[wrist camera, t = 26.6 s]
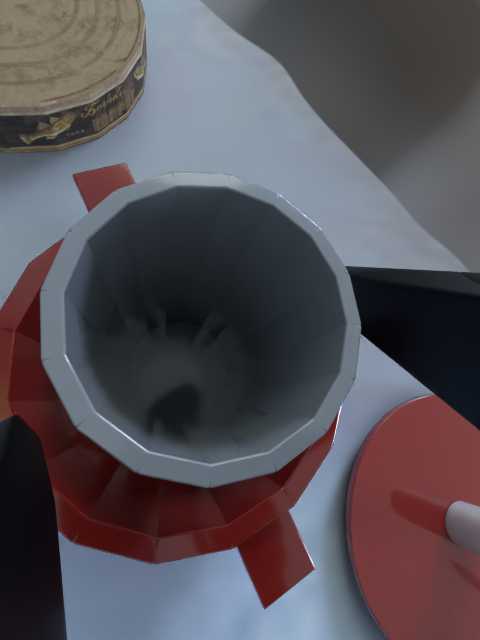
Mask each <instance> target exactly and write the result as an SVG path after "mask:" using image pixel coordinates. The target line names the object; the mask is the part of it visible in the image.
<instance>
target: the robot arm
mask: <svg viewBox="0 0 480 640" xmlns="http://www.w3.org/2000/svg"><path fill="white" fill-rule="evenodd" d="M345 267H346V269H347V270H348V274H349V275H350V279H351V283H352V288H353V292H354V296H355V300H356V304H357V308H358V313H359V317H360V321H361V325H360V326H361V334H362V335H363V336H364V337H365V338H367V339H368V340H369V341H370V342H372V343H373V344H374V345H375V346H376V347H378V348H379V349H380V350H381V351H383V352H384V353H385V354H386V355H388V356H389V357H390V358H391V359H392V360H394V361H395V362H396V363H397V364H399V365H400V366H401V367H402V368H403V369H405V370H406V371H407V372H408V373H410V374H411V375H412V376H413V377H414V378H416V379H417V380H418V381H419V382H421V383H422V384H423V385H424V386H425V387H427V388H428V389H429V390H430V391H432V392H433V393H434V394H435V395H437V396H438V397H439V398H440V399H441V400H443V401H444V402H445V403H446V404H448V405H449V406H450V407H451V408H452V409H454V410H455V411H456V412H457V413H459V414H460V415H461V416H462V417H463V418H465V419H466V420H467V421H468V422H470V423H471V424H472V425H473V426H475V427H476V428H477V429H478V430H479V431H480V273H471V272H460V273H459V272H450V271H431V270H411V269H391V268H372V267H352V266H345ZM0 640H67V633H66V622H65V610H64V598H63V587H62V575H61V563H60V551H59V540H58V528H57V516H56V507H55V499H54V494H53V490H52V485H51V481H50V476H49V472H48V468H47V463H46V459H45V454H44V450H43V446H42V442H41V440H40V438H39V436H38V435H37V433H36V432H35V431H34V430H33V429H32V428H31V427H30V426H29V425H28V424H27V423H26V422H25V421H24V419H23V418H22V417H20V416H18V415H13V416H11V417H9V418H7V419H5V420H2V421H0Z"/></svg>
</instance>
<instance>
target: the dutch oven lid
mask: <svg viewBox="0 0 480 640" xmlns="http://www.w3.org/2000/svg"><path fill="white" fill-rule="evenodd" d="M345 524H346V537H347V546H348V552H349V557H350V563H351V566H352V570H353V573H354V577H355V580H356V584H357V586H358V588H359V591H360V593H361V596H362V598H363V601H364V603H365V605H366V607H367V608H368V610H369V612H370V614H371V616H372V618H373V619H374V621H375V622H376V624H377V625H378V627H379V628H380V629H381V631H382V632H383V633H384V635H385V636H386V637H387V638H388V639H389V640H480V431H479V430H478V429H477V428H476V427H475V426H473V425H472V424H471V423H470V422H468V421H467V420H466V419H465V418H463V417H462V416H461V415H460V414H459V413H457V412H456V411H455V410H454V409H452V408H451V407H450V406H449V405H448V404H446V403H445V402H444V401H443V400H441V399H440V398H439V397H438V396H437V395H426V396H420V397H416V398H413V399H410V400H407V401H405V402H403V403H401V404H400V405H398V406H396V407H394V408H393V409H392V410H391V411H389V412H388V413H387V414H385V415H384V416H383V417H382V418H381V419H380V420H379V421H378V423H377V424H376V425H375V426H374V427H373V429H372V430H371V431H370V433H369V434H368V436H367V437H366V439H365V441H364V443H363V445H362V446H361V448H360V450H359V452H358V455H357V458H356V460H355V463H354V466H353V469H352V473H351V477H350V481H349V485H348V492H347V500H346V522H345Z"/></svg>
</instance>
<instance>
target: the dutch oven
mask: <svg viewBox="0 0 480 640" xmlns="http://www.w3.org/2000/svg"><path fill="white" fill-rule="evenodd" d="M73 178H74V181H75V184H76V186H77V189H78V191H79V193H80V196H81V198H82V200H83V202H84V205H85V207H86V209H87V211H88V213H89V212H90V211H91V210H92V209H94V208H95V207H96V206H97V205H98V204H99V203H101V202H102V201H103V200H104V199H105V198H107V197H108V196H109V195H110V194H111V193H112V192H114V191H116V190H117V189H120V188H123V187H126V186H129V185H132V184H135V181H134V179H133V177H132V175H131V173H130V170H129V168H128V166H127V164H126V163H122V164H118V165H113V166H108V167H104V168H99V169H95V170H90V171H86V172H81V173H76V174H73ZM64 238H65V237H64ZM64 238H63V239H61V240H60V241H59V242H57V243H56V244H54V245H53V246H52V247H50V248H49V249H47V250H46V251H45V252H43V253H42V254H41V255H39V256H38V257H36V258H35V259H34V260H32V262H30V263H29V264H28V266H27V268H26V269H25V271H24V273H23V274H22V276H21V277H20V279H19V281H18V282H17V284H16V286H15V287H14V289H13V290H12V292H11V294H10V295H9V297H8V299H7V300H6V302H5V303H4V305H3V307H2V308H1V310H0V421H2V420H5V419H7V418H9V417H11V416H13V415H18V416H20V417H22V418H23V419H24V421H25V422H26V423H27V424H28V425H29V426H30V427H31V428H32V429H33V430H34V431H35V432H36V433H37V435H38V436H39V438H40V440H41V442H42V446H43V450H44V454H45V459H46V463H47V468H48V472H49V476H50V481H51V485H52V490H53V494H54V499H55V507H56V516H57V528H58V531H59V532H60V533H61V534H62V535H63V536H65V537H66V538H67V539H68V540H69V541H70V542H73V543H74V544H76V545H80V546H84V547H88V548H92V549H96V550H100V551H103V552H107V553H111V554H115V555H119V556H123V557H126V558H130V559H134V560H138V561H142V562H146V563H150V564H153V563H154V564H160V563H165V562H170V561H175V560H180V559H185V558H190V557H195V556H200V555H205V554H210V553H215V552H220V551H225V550H230V549H232V548H235V547H236V549H237V552H238V554H239V556H240V558H241V561H242V563H243V565H244V567H245V570H246V572H247V574H248V576H249V579H250V581H251V583H252V586H253V588H254V590H255V592H256V595H257V597H258V599H259V601H260V603H261V605H262V607H263V608H264V609H266V608H267V607H268V606H270V605H271V604H272V603H273V602H275V601H276V600H277V599H278V598H280V597H281V596H282V595H283V594H285V593H286V592H287V591H288V590H290V589H291V588H292V587H293V586H294V585H296V584H297V583H298V582H299V581H301V580H302V579H303V578H304V577H306V576H307V575H308V574H309V573H311V572H312V571H313V570H314V569H315V566H314V564H313V562H312V559H311V557H310V555H309V553H308V551H307V549H306V547H305V544H304V542H303V540H302V538H301V536H300V534H299V532H298V529H297V527H296V525H295V523H294V521H293V519H292V517H291V514H290V512H289V509H291V508H292V507H293V506H294V504H296V503H297V501H298V500H299V498H300V496H301V495H302V493H303V492H304V490H305V489H306V487H307V485H308V484H309V482H310V481H311V479H312V478H313V476H314V475H315V473H316V471H317V470H318V468H319V467H320V465H321V464H322V462H323V461H324V459H325V457H326V456H327V454H328V453H329V451H330V450H331V448H332V446H333V443H334V438H335V433H336V429H337V424H338V419H339V414H340V409H341V407H340V409H339V411H338V413H337V415H336V417H335V418H334V420H333V422H332V424H331V426H330V428H329V429H328V431H327V432H325V435H323V436H322V437H321V438H320V439H318V440H317V441H316V442H314V443H313V444H312V445H311V446H309V447H308V448H307V449H305V450H304V451H303V452H302V453H300V454H299V455H298V456H296V457H295V458H294V459H293V460H291V461H290V462H289V463H287V464H286V465H285V466H284V467H282V468H281V469H280V470H279V471H275V472H274V473H271V474H267V475H263V476H259V477H255V478H251V479H247V480H242V481H238V482H234V483H230V484H226V485H222V486H218V487H214V488H210V487H208V488H203V487H198V486H193V485H188V484H183V483H178V482H173V481H168V480H163V479H158V478H153V477H148V476H143V475H139V474H138V473H135V472H133V471H132V470H130V469H129V468H128V467H126V466H125V465H124V464H122V463H121V462H119V461H118V460H117V459H115V458H114V457H113V456H111V455H110V454H109V453H107V452H106V451H105V450H103V449H102V448H101V447H99V446H98V445H97V444H95V443H94V442H93V441H91V440H90V439H89V438H87V437H86V436H85V435H83V434H82V433H81V432H79V431H78V430H77V427H75V426H74V425H73V423H72V421H71V419H70V417H69V415H68V414H67V412H66V410H65V408H64V406H63V404H62V402H61V400H60V398H59V396H58V394H57V392H56V390H55V388H54V386H53V384H52V383H51V381H50V379H49V377H48V375H47V373H46V371H45V369H44V367H43V365H42V362H43V361H42V360H41V335H40V292H41V287H42V285H43V283H44V281H45V279H46V276H47V274H48V272H49V270H50V268H51V266H52V264H53V261H54V259H55V257H56V255H57V253H58V251H59V249H60V246H61V244H62V242H63V240H64Z"/></svg>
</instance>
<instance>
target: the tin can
mask: <svg viewBox="0 0 480 640" xmlns="http://www.w3.org/2000/svg"><path fill="white" fill-rule="evenodd" d="M146 67H147V55H146V29H145V13H144V10H143V6H142V3H141V0H0V151H5V152H10V153H21V152H40V151H59V150H63V149H66V148H69V147H72V146H75V145H79V144H82V143H85V142H88V141H91V140H94V139H97V138H100V137H101V136H103V135H104V134H105V133H107V132H108V131H109V130H111V129H112V128H114V127H115V126H116V125H118V124H119V123H121V122H122V121H123V120H125V119H126V118H127V117H128V116H129V114H130V113H131V111H132V109H133V108H134V106H135V105H136V103H137V101H138V100H139V98H140V97H141V95H142V93H143V91H144V83H145V75H146Z"/></svg>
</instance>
